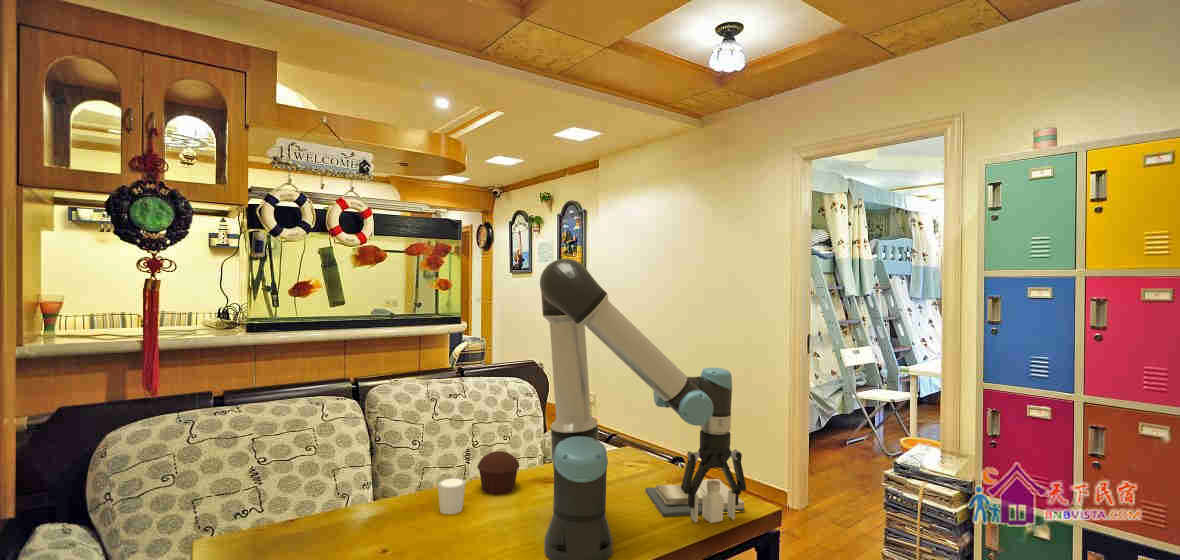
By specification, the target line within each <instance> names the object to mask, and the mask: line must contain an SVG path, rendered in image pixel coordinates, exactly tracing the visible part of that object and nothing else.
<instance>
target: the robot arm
mask: <svg viewBox="0 0 1180 560" xmlns="http://www.w3.org/2000/svg"><path fill="white" fill-rule="evenodd" d="M539 288H540V294H541V307H542V317H543V318H544V319H545V320H547V322H548V323H549V328H550V329H549V331H550V332H549V333H550V334H549V335H550V347H551V360H552V362H551V363H552V377H553V389H554V390H553V391H554V392H553V393H554V405H555V420H554V421H553V422H552V423H551V425H550V435H551V436H550V437H551V456H552V466H553V503H552V504H553V505H552V506H553V507H552V508H553V510H552V517H551V519H550V522H549V525H548V528H547V531H546V533H545V536H544V542H543V543H544V546H543V547H544V548H543V550H544V554H545V555H546V557H547V558H548V559H549V560H608V559H609V558H610V557H611V555H612V554H613V545H614V542H613V536H612V533H611V529H610V526H609V523H608V519H607V516H606V510H607V509H606V508H607V506H606V505H607V504H606V503H607V501H606V500H607V474H608V473H607V472H608V471H607V469H608V465H609V464H608V463H609V460H608V459H609V458H608V452H607V448H606V446H605V445H604V444H603V443H602V442H601V441H600V440H599V439H600V438H599V427H598V426H599V425H598V421H597V420H596V419H595V418H594V417H593V416H592V411H591V401H590V400H591V397H590V383H589V382H590V381H589V370H588V368H589V367H588V356H587V355H588V354H587V339H586V328H587V329H588V330H589V331H590V332H591V333H592V334H593V335H595V336H596V338H598V339H599V340H600V341H601V342H602V343H603V344H604V345H605V346H606V347H607V348H608V349H609V350H610V351H612V353H613V354H615V356H616V357H618V358H619V359H620V360H621V361H622V362H623V363H624V364H625V365H626V366H627V367H628V368H629V369H631V370H632V372H633V373H635V375H637V377H638V378H640V379H641V380H642V381H643V382H644V383H645V384H646V385H647V386H648V387H649V388H650V389H651V390H653V394H652V395H653V401H654V404H655V405H656V406H657V407H658V408H666V409H669V408H671V409H672V410H673V411H674V412H675V413H676V414H677V415H678V416H679V417H680V419H681V420H683V421H684V422H685V423H687V424H688V425H690V426H695V427H697V426H699V428H700V430H699V449H698V450H697V451H695V452H692V451H689V450H688V451H687V454H686V455H687V461H686V465H685V471H684V474H683V478H682V480H681V481H682V482H681V484H680V485H681V489H682V491H683V492H684V493H685V494H688V506H689V507H690V508H691V515H690V519H691V520H692V521H693V523H696V522H697V523H698V521H699V520H698V519H699V515H698V495H697V494H696V492H697V490H698V488H699V486H700V485H701V483H702V481H703V480H705V479H704V478H705V476H706V474H707V473H709V471H710V469H715V468H717V469H721V470H722V473H723V474H724V477H725V479H726V481H727V483H728V485H729V487H730V490H728V513H726V514H727V517H730V518H731V519H735V520H736V513H735V505H738V498H740V497H739V496H740V495H741V493H742V491H746V490H747V486H746V480H745V475H744V470H743V465H742V457H743V454H742V453H741V452H740V451H739V450H738V449H734V450H731V448H730V447H731V432H730V431H731V429H732V428H731V427H732V426H731V425H732V398H733V397H732V393H733V379H732V373H731V371H730V370H728V369H726V368H723V367H722V368H720V367H705V368H703V369H702V370H701V373H700V375H698V376H687V375H686V374H685V373H684V372H683V371H682V370H681V369H680V368H678V366H676V364H675V363H674V362H673V361H671V360H670V359H669V358H668V357H667V356H666V355H665V354H664V353H663V352H662V350H661V349H660V348H658V347H657V346H656V345H655V343H653V342H652V341H651V340H649V339H648V337H646V335H644V333H643V332H641V330H639V328H637V326H635V325H634V323H632V322H631V321H630V320H629V319H628V318H627V317H626V316H625V315H624V314H623V313H622V312H621V311H620V310H619V309H618V308H616V306H614V304H612V303H611V301H610V300H609V295H608V293H607V291H605V290H604V288H602V286H601V285H600V284H599V283H598V282H597V281H596V279H595V278H594V277H593V276H592V275H591V273H590V272H589V271H588V269H587V268H586V267H585V266H584V264H582V263H581V262H579V261H578V260H575V259H571V258H560V259H556V260H554V261H552V262H550V263H548V265H546V267H545V268H544V269H543V270H542V272H541V275H540V277H539ZM698 459H700V462H699V464H698V467H697V470H695V469H696V464H697V462H698ZM729 459H732V465H733V469H734V474H735V477H734V476H733V474H732V471H731V470H730V465H729V463H728V460H729ZM695 471H696V472H695ZM735 479H736V480H735ZM731 519H730V520H731Z"/></svg>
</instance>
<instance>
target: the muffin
mask: <svg viewBox="0 0 1180 560" xmlns="http://www.w3.org/2000/svg"><path fill="white" fill-rule="evenodd" d="M519 468H520V462H519V461H518V459H517V458H516V457H515V456H514V455H513V454H510V452H507V451H491V452H489V453H487V454H486V455H484V456H482V458H481V459H480V460H479V461H478V464H477V469H478V470H479V476H480V483H481V490H482V491H483V492H484V493H485V494H488V495H492V496H498V495H506V494H508V493H512V492H513V490H514V489H515V486H516V479H517V474H518V469H519Z"/></svg>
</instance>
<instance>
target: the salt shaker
mask: <svg viewBox="0 0 1180 560" xmlns="http://www.w3.org/2000/svg"><path fill="white" fill-rule="evenodd" d="M719 491H720V482H718V481H716V480H709V481H707V493H705V494H703V510H702V518H703V519H704V518H705V519H704V520H706V521H707V522H708V521H709V522H708V523H709V524H715V523H719V522H720V521H721V522H723V520H724V513H723V502H724V499H723V497H722V496H721V495H720V494H719ZM721 522H720V523H721Z"/></svg>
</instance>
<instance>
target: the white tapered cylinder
mask: <svg viewBox="0 0 1180 560" xmlns="http://www.w3.org/2000/svg"><path fill="white" fill-rule="evenodd" d="M437 487H438V488H437V489H438V503H439V504H438V505H439V511H440V513H441V514H444V515H456V514H458V513H461V512H462V511H463V508H464V501H465V499H464V497H465V493H466V492H465V489H466V479H463V478H459V477H449V478H444V479H441V480H440V481H438V483H437Z"/></svg>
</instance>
